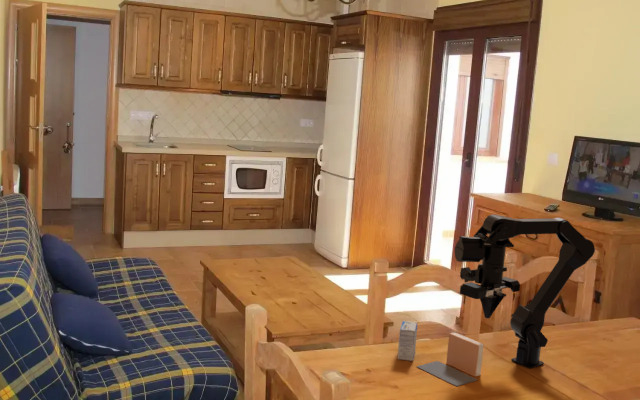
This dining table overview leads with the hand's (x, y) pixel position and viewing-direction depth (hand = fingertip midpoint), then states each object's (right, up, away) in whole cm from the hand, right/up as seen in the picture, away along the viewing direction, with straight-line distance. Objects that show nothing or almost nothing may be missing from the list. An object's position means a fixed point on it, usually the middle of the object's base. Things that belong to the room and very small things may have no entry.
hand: (487, 317), depth 186 cm
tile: (-7, -13, -3) cm, 15 cm away
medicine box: (-21, -11, +4) cm, 25 cm away
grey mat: (-12, -13, -7) cm, 19 cm away
